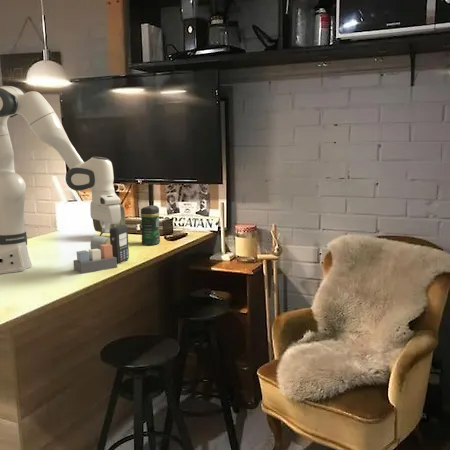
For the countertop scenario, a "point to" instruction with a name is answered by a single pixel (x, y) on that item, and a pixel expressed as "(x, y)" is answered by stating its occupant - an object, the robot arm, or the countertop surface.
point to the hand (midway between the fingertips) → (105, 232)
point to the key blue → (82, 256)
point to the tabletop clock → (122, 222)
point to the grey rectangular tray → (95, 265)
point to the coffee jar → (150, 225)
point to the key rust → (106, 251)
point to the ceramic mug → (99, 241)
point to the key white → (94, 254)
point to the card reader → (119, 243)
